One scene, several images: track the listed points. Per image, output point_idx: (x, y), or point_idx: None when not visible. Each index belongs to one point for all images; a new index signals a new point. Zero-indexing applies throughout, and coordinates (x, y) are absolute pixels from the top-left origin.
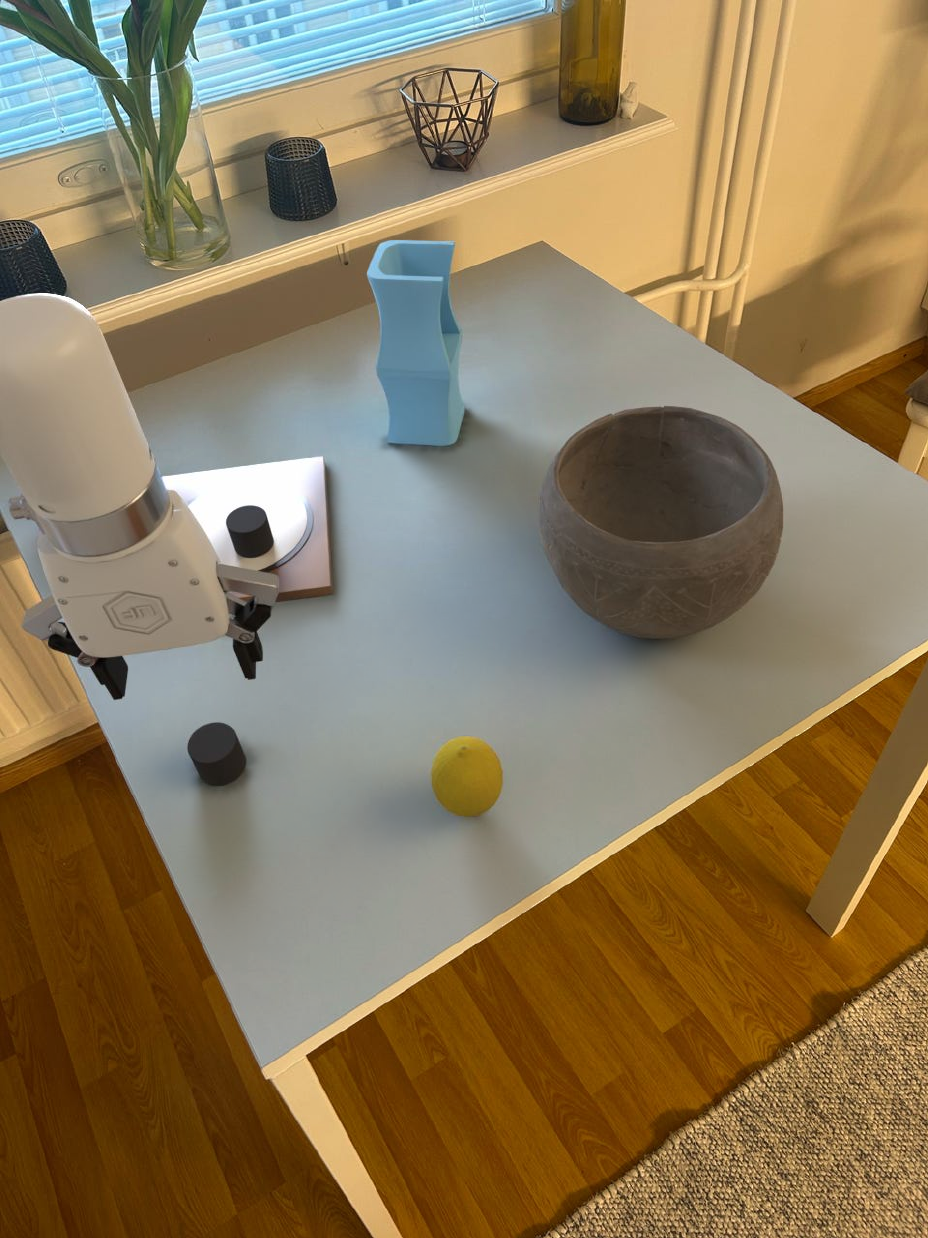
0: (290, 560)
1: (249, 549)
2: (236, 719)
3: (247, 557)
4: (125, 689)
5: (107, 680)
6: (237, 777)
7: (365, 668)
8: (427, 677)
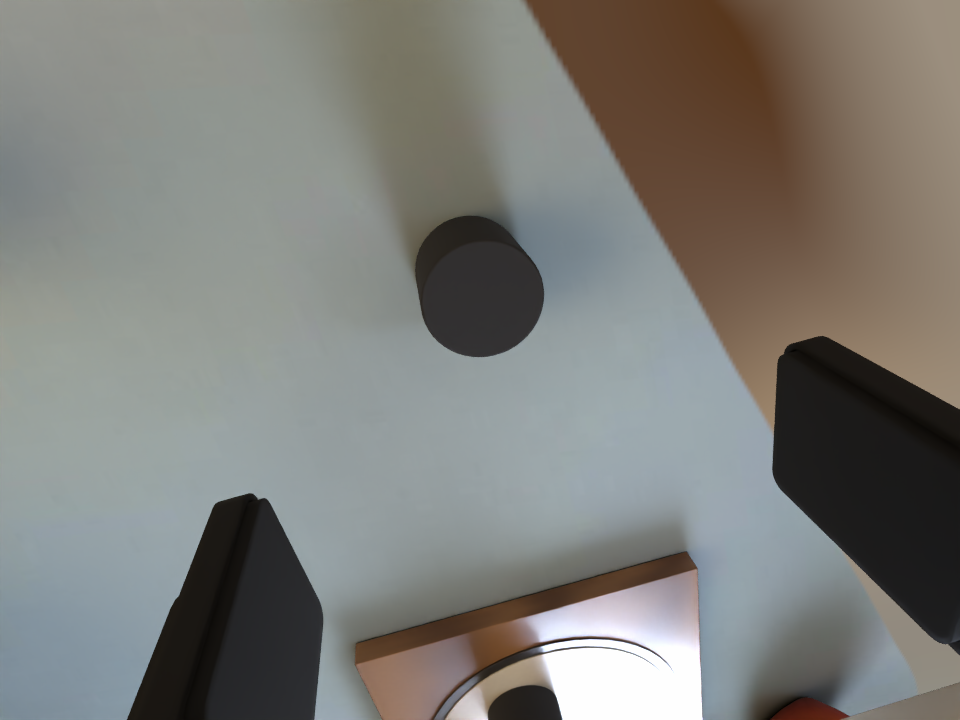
0: (448, 692)
1: (524, 708)
2: (468, 380)
3: (528, 686)
4: (777, 388)
5: (921, 409)
6: (424, 240)
7: None
8: (79, 517)
